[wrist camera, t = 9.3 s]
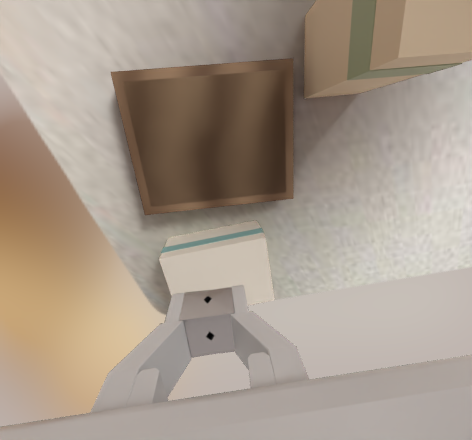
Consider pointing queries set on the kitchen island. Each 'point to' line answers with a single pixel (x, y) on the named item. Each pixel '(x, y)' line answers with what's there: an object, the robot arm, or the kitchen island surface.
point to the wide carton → (220, 261)
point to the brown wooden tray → (209, 133)
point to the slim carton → (381, 42)
